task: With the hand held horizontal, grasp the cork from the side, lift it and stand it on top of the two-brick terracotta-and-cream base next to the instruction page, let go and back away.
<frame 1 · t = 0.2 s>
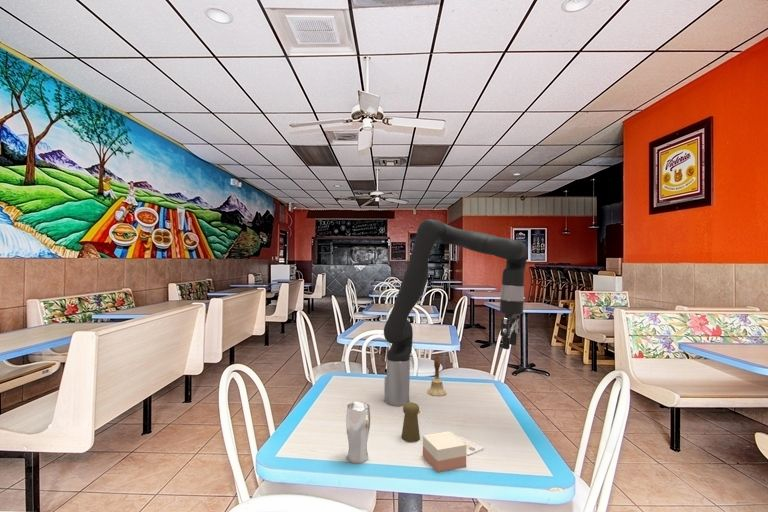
hand: (509, 346, 131), 28 cm above the table, tool pointing down, fingers open, 8 cm apart
hand bell: (436, 393, 167), on the table
cork: (410, 438, 125), on the table
brick base: (443, 461, 110), on the table
instruction page: (463, 445, 120), on the table
beer glass: (357, 458, 111), on the table
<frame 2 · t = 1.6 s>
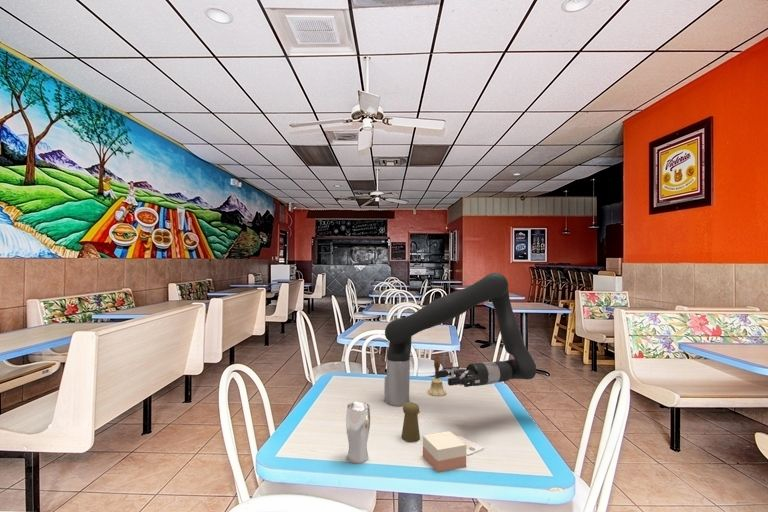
hand: (441, 378, 129), 18 cm above the table, tool horizontal, fingers open, 8 cm apart
nothing on the table moved.
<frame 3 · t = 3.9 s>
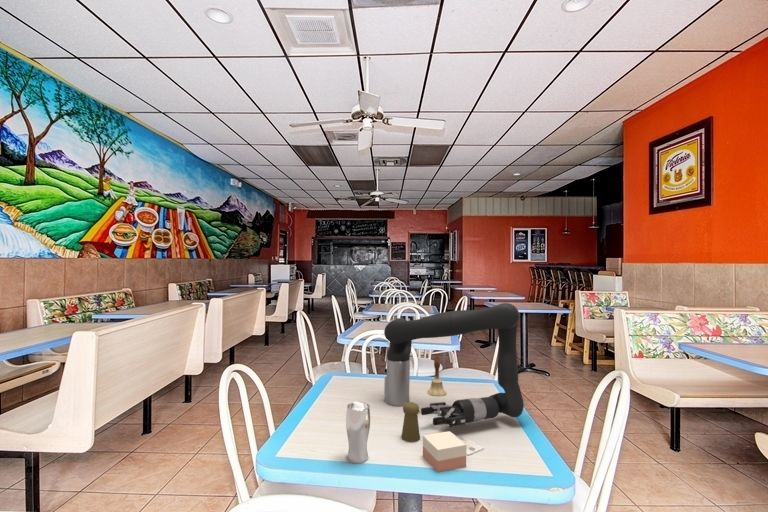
hand: (427, 416, 127), 6 cm above the table, tool horizontal, fingers open, 8 cm apart
nothing on the table moved.
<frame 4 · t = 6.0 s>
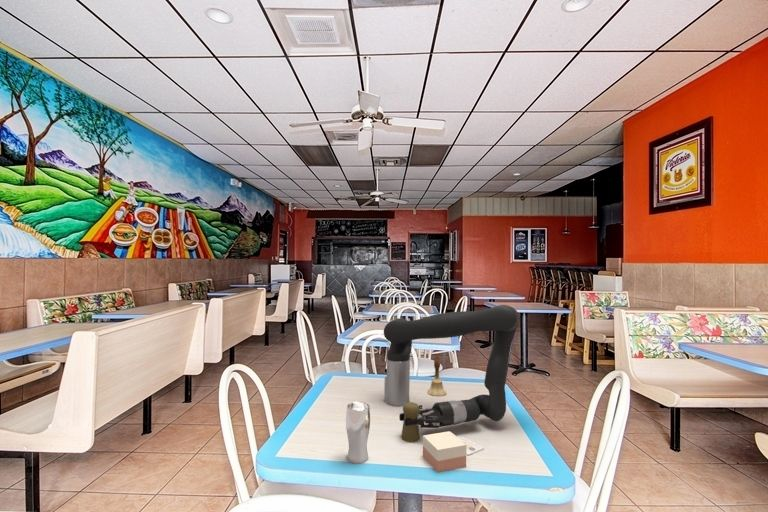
hand: (402, 419, 124), 6 cm above the table, tool horizontal, fingers closed on cork, 3 cm apart
cork: (410, 438, 124), on the table, touching gripper
everything else where it was.
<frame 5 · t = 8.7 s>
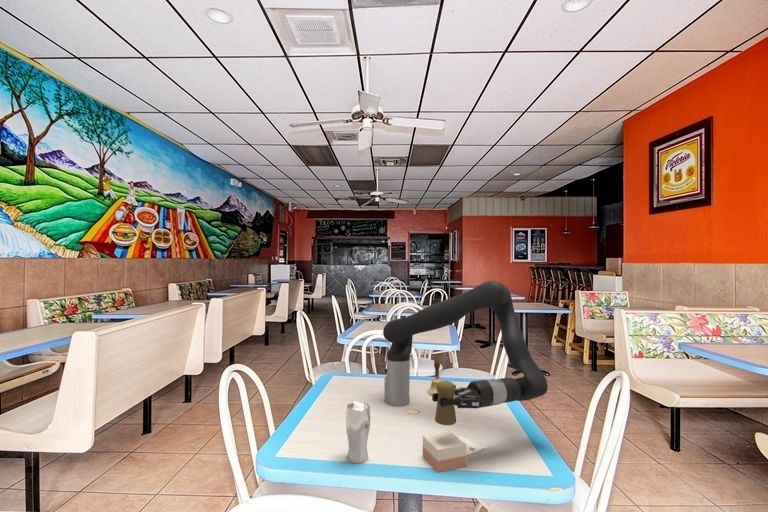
hand: (436, 400, 109), 18 cm above the table, tool horizontal, fingers closed on cork, 3 cm apart
cork: (445, 421, 110), point 11 cm above the table, touching gripper
everything else where it was.
when the fingers open (12 cm above the table, at t = 11.4 s): cork stays where it is, resting on brick base.
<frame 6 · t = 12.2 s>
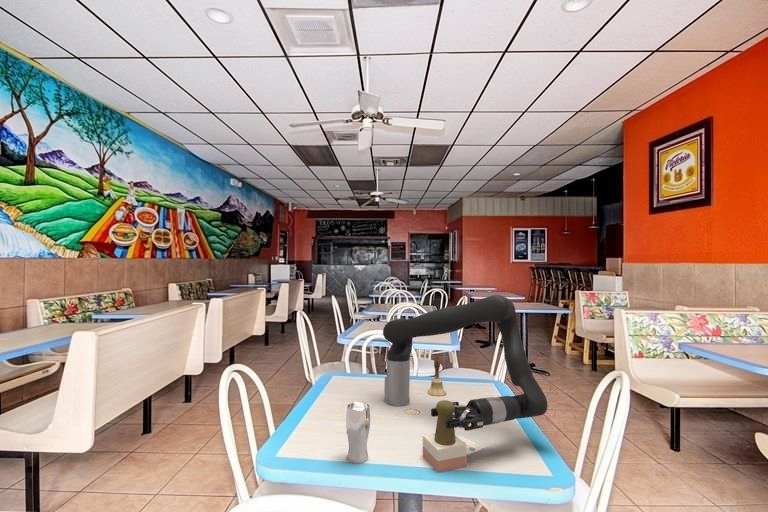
hand: (438, 418, 110), 12 cm above the table, tool horizontal, fingers open, 8 cm apart
cork: (445, 441, 110), point 6 cm above the table, touching brick base
everything else where it was.
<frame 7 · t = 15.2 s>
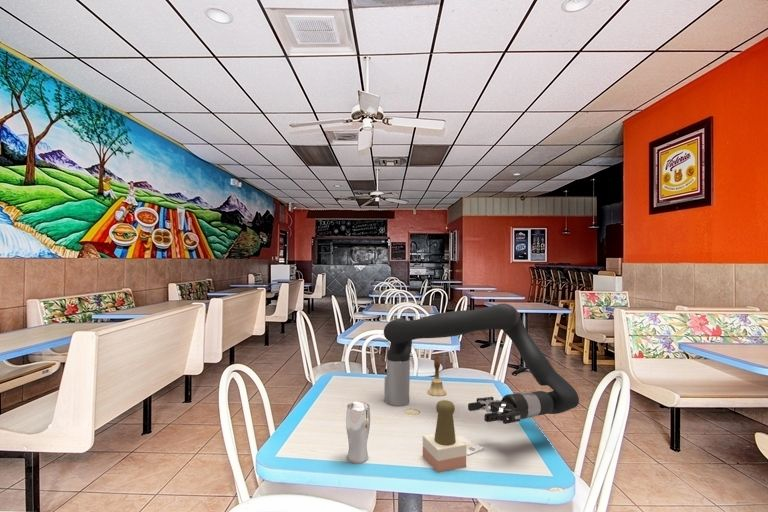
hand: (476, 412, 114), 12 cm above the table, tool horizontal, fingers open, 8 cm apart
nothing on the table moved.
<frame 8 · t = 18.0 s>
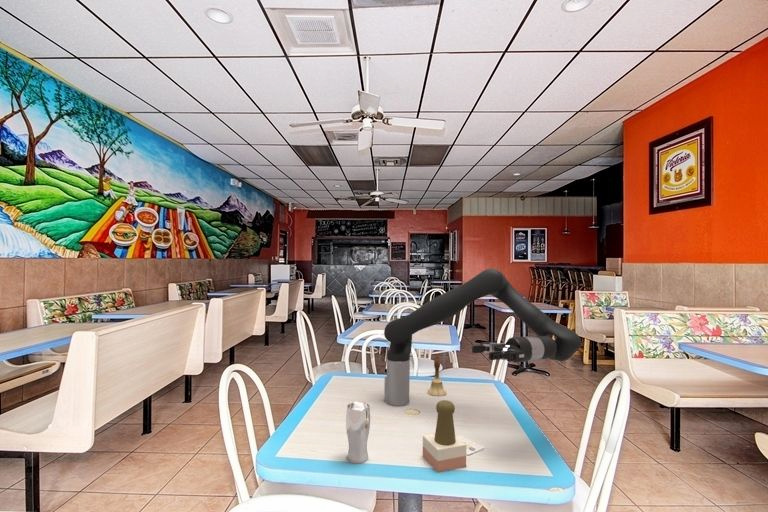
hand: (480, 352, 115), 30 cm above the table, tool horizontal, fingers open, 8 cm apart
nothing on the table moved.
at the end: cork inside the target area on the brick base (0.3 cm from its centre), point 5.8 cm above the brick base's base; cork tilted 0°; the gripper is holding nothing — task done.
